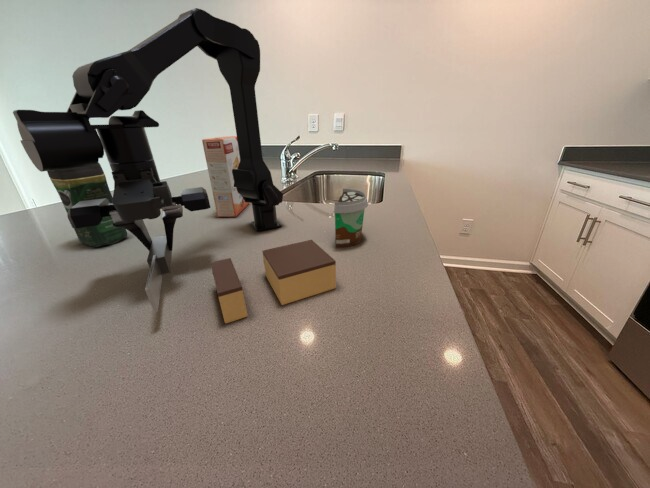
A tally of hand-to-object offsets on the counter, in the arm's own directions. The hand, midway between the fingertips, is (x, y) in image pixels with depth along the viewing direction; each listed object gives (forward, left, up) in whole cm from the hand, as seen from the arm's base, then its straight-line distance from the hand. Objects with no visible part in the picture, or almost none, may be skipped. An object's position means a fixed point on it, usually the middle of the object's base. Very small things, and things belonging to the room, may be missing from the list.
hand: (162, 251), depth 46 cm
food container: (+5, +37, -4) cm, 37 cm away
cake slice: (+16, +9, -4) cm, 18 cm away
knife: (+7, 0, -1) cm, 7 cm away
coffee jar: (-23, -14, -4) cm, 27 cm away
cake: (+16, +20, -4) cm, 25 cm away
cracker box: (-31, +17, -4) cm, 36 cm away
